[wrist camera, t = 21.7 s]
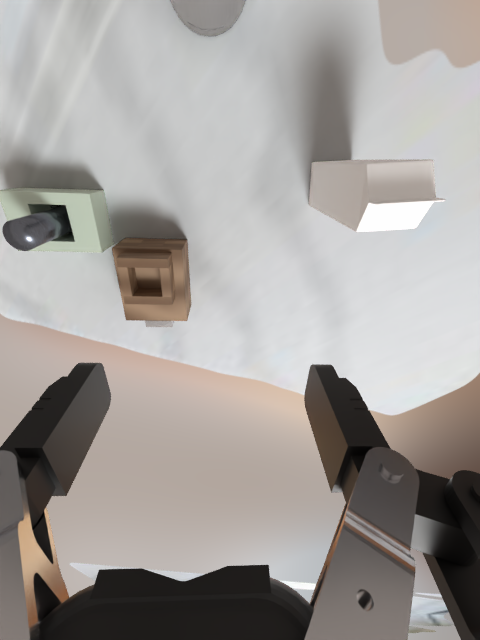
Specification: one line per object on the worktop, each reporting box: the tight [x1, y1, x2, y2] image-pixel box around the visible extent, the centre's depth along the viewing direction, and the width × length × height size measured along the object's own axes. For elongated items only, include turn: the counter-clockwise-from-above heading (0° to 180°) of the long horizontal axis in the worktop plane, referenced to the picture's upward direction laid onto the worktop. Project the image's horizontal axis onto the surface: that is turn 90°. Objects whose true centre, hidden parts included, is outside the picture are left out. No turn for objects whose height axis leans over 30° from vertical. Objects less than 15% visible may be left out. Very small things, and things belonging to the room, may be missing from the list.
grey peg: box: [3, 205, 72, 251], centre depth 38 cm, size 4×4×12 cm
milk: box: [309, 160, 445, 232], centre depth 33 cm, size 6×6×22 cm
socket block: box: [112, 238, 191, 321], centre depth 44 cm, size 12×10×9 cm
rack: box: [0, 188, 114, 253], centre depth 41 cm, size 8×12×5 cm, turn 88°
